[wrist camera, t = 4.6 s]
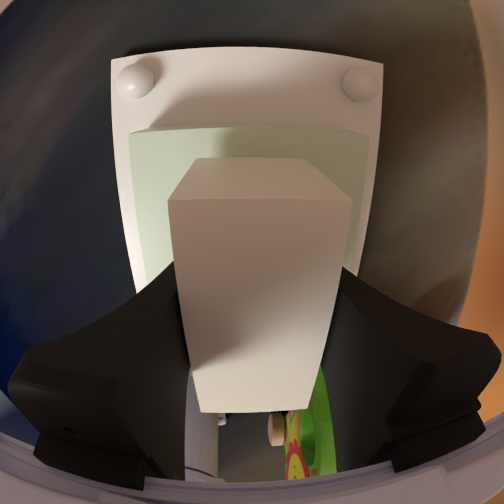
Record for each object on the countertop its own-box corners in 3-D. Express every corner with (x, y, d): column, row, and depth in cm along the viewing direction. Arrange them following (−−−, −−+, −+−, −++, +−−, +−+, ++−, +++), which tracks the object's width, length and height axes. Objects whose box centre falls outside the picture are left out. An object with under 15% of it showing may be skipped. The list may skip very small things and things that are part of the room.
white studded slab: (338, 325, 21) (353, 364, 18) (151, 328, 21) (139, 369, 17) (375, 65, 13) (412, 59, 9) (118, 61, 12) (85, 52, 9)
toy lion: (278, 337, 22) (310, 541, 8) (346, 334, 22) (409, 515, 9) (263, 432, 29) (274, 552, 16) (310, 428, 29) (331, 544, 16)
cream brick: (289, 324, 14) (307, 408, 10) (208, 325, 14) (200, 412, 10) (304, 158, 11) (352, 201, 6) (196, 158, 10) (167, 200, 6)
